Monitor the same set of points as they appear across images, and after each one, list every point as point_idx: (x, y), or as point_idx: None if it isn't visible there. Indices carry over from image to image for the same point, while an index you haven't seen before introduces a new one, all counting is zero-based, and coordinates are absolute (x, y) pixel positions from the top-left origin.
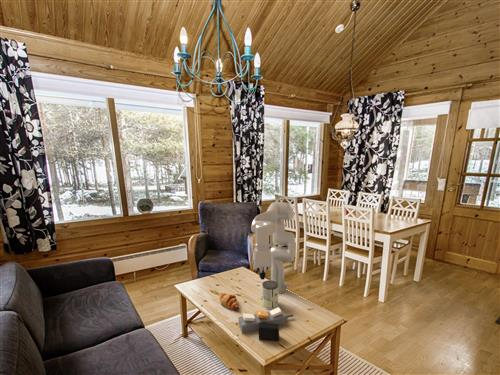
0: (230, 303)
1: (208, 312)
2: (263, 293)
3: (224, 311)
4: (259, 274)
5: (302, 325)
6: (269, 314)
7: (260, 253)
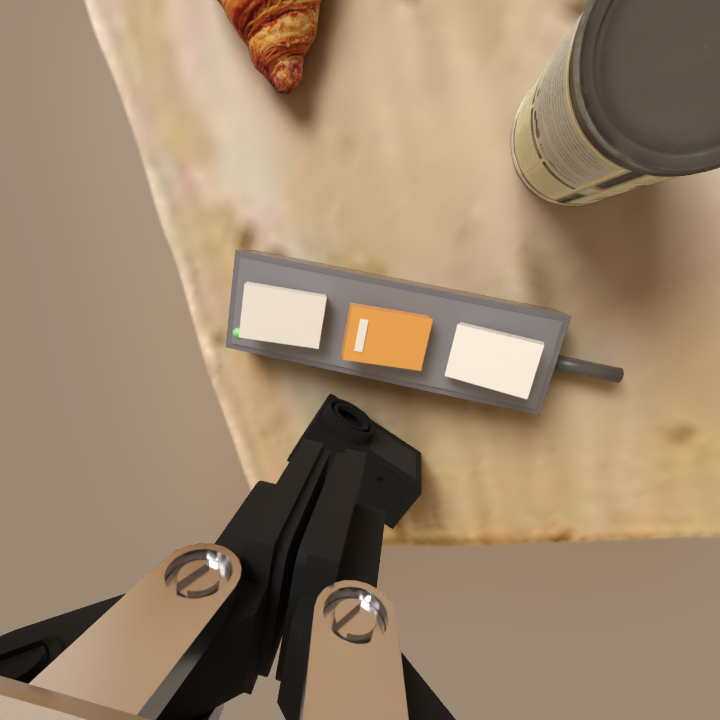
0: (238, 20)
1: (95, 14)
2: (545, 94)
3: (206, 57)
4: (238, 516)
5: (611, 453)
6: (452, 328)
7: None
